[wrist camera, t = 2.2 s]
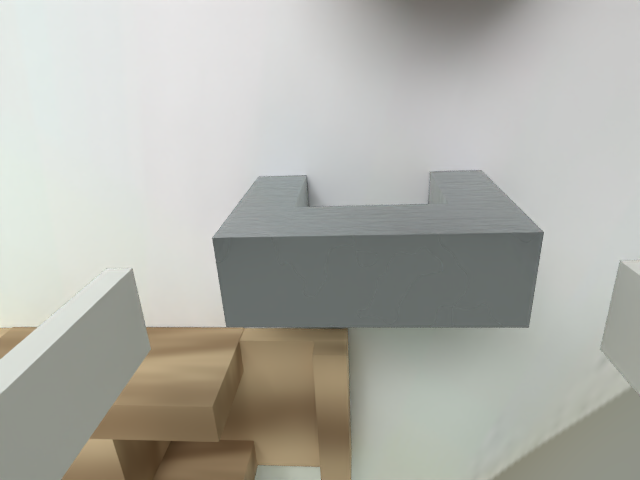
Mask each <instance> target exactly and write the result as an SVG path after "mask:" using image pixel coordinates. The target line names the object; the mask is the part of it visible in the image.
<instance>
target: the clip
mask: <svg viewBox="0 0 640 480" xmlns="http://www.w3.org/2000/svg"><path fill="white" fill-rule="evenodd" d="M543 234H544V232H543V231H542V230H541V229H540V228H539V227H538V226H537V225H536V224H535V223H534V222H533V221H532V220H531V219H530V218H529V217H528V216H527V215H526V214H525V213H524V212H523V211H522V210H521V209H520V208H519V207H518V206H517V205H516V204H515V203H514V202H513V201H512V200H511V199H510V198H509V197H508V196H507V195H506V194H505V193H504V192H503V191H502V190H501V189H500V188H499V187H498V186H497V185H496V184H495V183H494V182H493V181H492V180H491V179H490V178H488V177H487V176H486V175H485V174H484V173H483V172H482V171H481V170H470V171H436V172H430V181H429V202H428V204H409V205H366V206H323V207H308V192H307V177H306V175H301V176H267V177H258V178H257V180H256V181H255V182H254V184H253V185H252V186H251V188H250V189H249V190H248V191H247V193H246V194H245V195H244V197H243V198H242V199H241V201H240V202H239V203H238V205H237V206H236V207H235V209H234V210H233V211H232V213H231V214H230V215H229V216H228V218H227V219H226V220H225V222H224V223H223V224H222V226H221V227H220V228H219V230H218V231H217V232H216V234H215V235H214V236H213V238H212V239H213V246H214V252H215V258H216V265H217V271H218V277H219V284H220V290H221V296H222V303H223V309H224V315H225V322H226V327H522V328H529V322H530V316H531V309H532V303H533V297H534V291H535V284H536V278H537V272H538V265H539V259H540V253H541V246H542V240H543Z"/></svg>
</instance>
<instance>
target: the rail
mask: <svg viewBox="0 0 640 480" xmlns="http://www.w3.org/2000/svg"><path fill="white" fill-rule="evenodd" d="M36 328H37V327H13V328H0V359H1V358H2V357H4V356H5V355H6V354H7V353H8V352H9V351H11V350H12V349H13V348H14V347H15V346H16V345H18V344H19V343H20V342H21V341H22V340H23V339H25V338H26V337H27V336H28V335H29V334H30V333H32V332H33V331H34V330H35V329H36ZM146 330H147V334H148V339H149V343H150V347H151V350H150V351H149V353H148V354H147V356H146V357H145V359H144V360H143V362H142V363H141V364H140V366H139V367H138V369H137V370H136V372H135V373H134V375H133V376H132V377H131V379H130V380H129V382H128V383H127V385H126V386H125V388H124V389H123V390H122V392H121V393H120V395H119V396H118V398H117V399H116V401H115V402H114V404H113V405H112V406H111V408H110V409H109V411H108V412H107V414H106V415H105V417H104V418H103V419H102V421H101V422H100V424H99V425H98V427H97V428H96V430H95V431H94V432H93V434H92V435H91V437H90V438H89V440H88V441H87V443H86V444H85V446H84V447H83V448H82V450H81V451H80V453H79V454H78V456H77V457H76V459H75V460H74V461H73V463H72V464H71V466H70V467H69V469H68V470H67V472H66V473H65V474H64V476H63V477H62V479H61V480H254V479H255V475H256V470H257V466H258V465H277V466H311V467H320V472H321V480H351V422H350V389H349V357H348V329H302V328H201V327H146Z"/></svg>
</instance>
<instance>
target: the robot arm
mask: <svg viewBox="0 0 640 480" xmlns="http://www.w3.org/2000/svg"><path fill="white" fill-rule="evenodd" d="M150 350H151V347H150V343H149V339H148V334H147V330H146V326H145V321H144V317H143V313H142V308H141V304H140V300H139V295H138V291H137V287H136V282H135V278H134V274H133V269H132V268H106V269H105V270H104V271H103V272H102V273H100V274H99V275H98V276H97V277H96V278H95V279H93V280H92V281H91V282H90V283H89V284H88V285H86V286H85V287H84V288H83V289H82V290H81V291H79V292H78V293H77V294H76V295H75V296H74V297H72V298H71V299H70V300H69V301H68V302H67V303H65V304H64V305H63V306H62V307H61V308H60V309H58V310H57V311H56V312H55V313H54V314H53V315H51V316H50V317H49V318H48V319H47V320H46V321H44V322H43V323H42V324H41V325H40V326H39V327H37V328H36V329H35V330H34V331H33V332H32V333H30V334H29V335H28V336H27V337H26V338H25V339H23V340H22V341H21V342H20V343H19V344H18V345H16V346H15V347H14V348H13V349H12V350H11V351H9V352H8V353H7V354H6V355H5V356H4V357H2V358H1V359H0V480H61V479H62V477H63V476H64V474H65V473H66V472H67V470H68V469H69V467H70V466H71V464H72V463H73V461H74V460H75V459H76V457H77V456H78V454H79V453H80V451H81V450H82V448H83V447H84V446H85V444H86V443H87V441H88V440H89V438H90V437H91V435H92V434H93V432H94V431H95V430H96V428H97V427H98V425H99V424H100V422H101V421H102V419H103V418H104V417H105V415H106V414H107V412H108V411H109V409H110V408H111V406H112V405H113V404H114V402H115V401H116V399H117V398H118V396H119V395H120V393H121V392H122V390H123V389H124V388H125V386H126V385H127V383H128V382H129V380H130V379H131V377H132V376H133V375H134V373H135V372H136V370H137V369H138V367H139V366H140V364H141V363H142V362H143V360H144V359H145V357H146V356H147V354H148V353H149V351H150ZM600 350H601V351H602V352H603V353H604V354H605V356H606V357H607V358H608V359H609V360H610V362H611V363H612V364H613V365H614V366H615V367H616V369H617V370H618V371H619V372H620V373H621V374H622V376H623V377H624V378H625V379H626V380H627V382H628V383H629V384H630V385H631V386H632V387H633V389H634V390H635V391H636V392H637V393H638V395H639V396H640V260H621V261H620V263H619V267H618V272H617V276H616V281H615V285H614V289H613V294H612V298H611V303H610V307H609V312H608V316H607V321H606V325H605V330H604V334H603V338H602V343H601V347H600Z"/></svg>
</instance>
